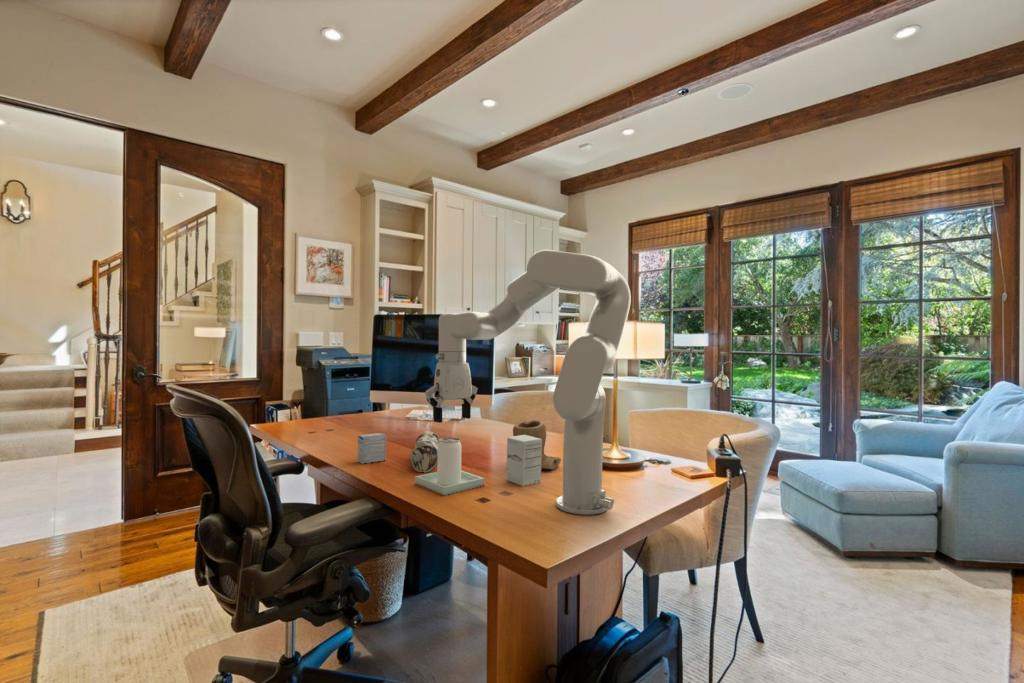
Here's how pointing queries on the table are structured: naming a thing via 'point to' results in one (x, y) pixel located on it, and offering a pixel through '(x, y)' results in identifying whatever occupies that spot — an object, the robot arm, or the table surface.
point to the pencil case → (425, 452)
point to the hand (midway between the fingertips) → (452, 419)
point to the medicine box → (371, 448)
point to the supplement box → (524, 459)
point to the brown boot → (538, 431)
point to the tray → (466, 483)
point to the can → (449, 461)
